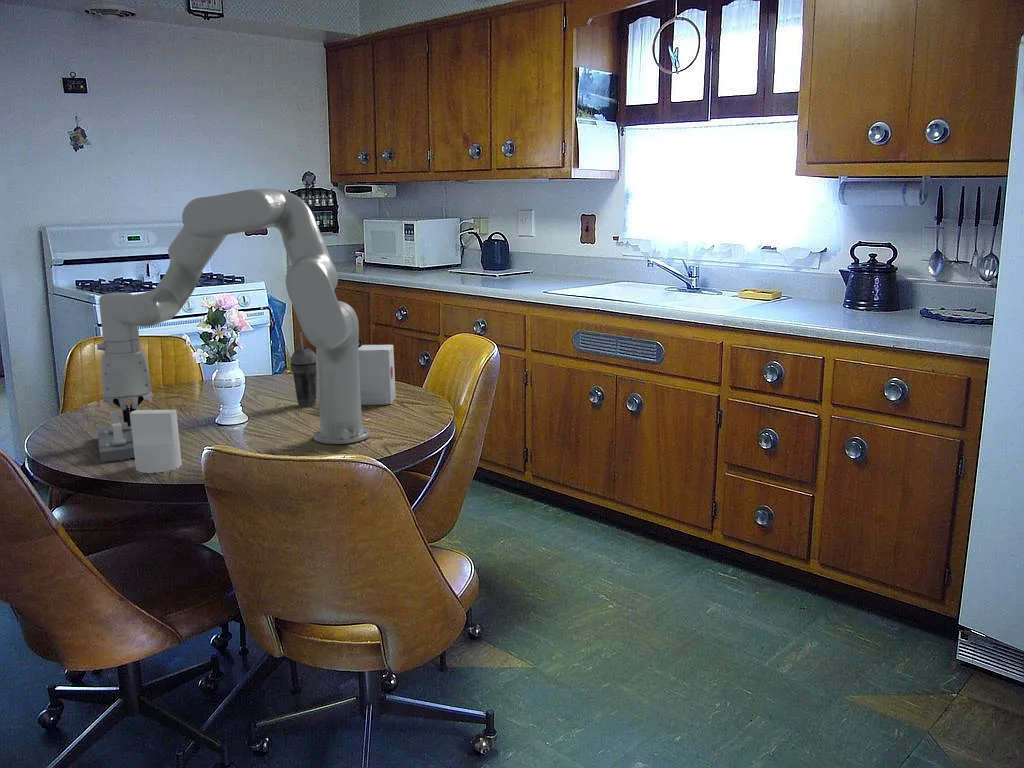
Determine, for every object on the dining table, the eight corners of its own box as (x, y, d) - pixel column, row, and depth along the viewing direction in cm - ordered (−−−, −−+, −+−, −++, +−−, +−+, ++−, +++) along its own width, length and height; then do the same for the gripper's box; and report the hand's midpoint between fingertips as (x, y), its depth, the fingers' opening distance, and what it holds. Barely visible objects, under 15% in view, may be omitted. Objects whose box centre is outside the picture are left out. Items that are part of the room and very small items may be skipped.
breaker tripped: (123, 431, 205) (121, 413, 204) (110, 432, 204) (108, 415, 203) (122, 427, 209) (120, 410, 208) (109, 429, 207) (107, 411, 207)
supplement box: (391, 405, 237) (389, 349, 234) (358, 405, 238) (354, 350, 234) (396, 397, 246) (394, 343, 243) (364, 397, 246) (361, 344, 243)
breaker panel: (180, 452, 197) (179, 441, 196) (100, 463, 190) (99, 451, 190) (171, 429, 216) (170, 419, 216) (99, 438, 210) (97, 427, 209)
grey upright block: (188, 460, 191) (183, 406, 189) (171, 473, 182) (165, 416, 180) (147, 460, 191) (141, 406, 189) (128, 474, 183) (121, 417, 180)
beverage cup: (324, 402, 242) (319, 329, 238) (316, 408, 235) (311, 333, 231) (298, 401, 243) (293, 329, 238) (289, 408, 236) (283, 333, 231)
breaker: (126, 444, 195) (124, 425, 194) (112, 445, 194) (110, 427, 193) (125, 440, 198) (123, 421, 197) (111, 441, 197) (109, 423, 196)
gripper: (86, 352, 197) (96, 432, 201) (158, 346, 203) (166, 424, 207) (86, 347, 204) (95, 425, 208) (156, 342, 210) (164, 417, 214)
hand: (131, 424), depth 208 cm, fingers closed
